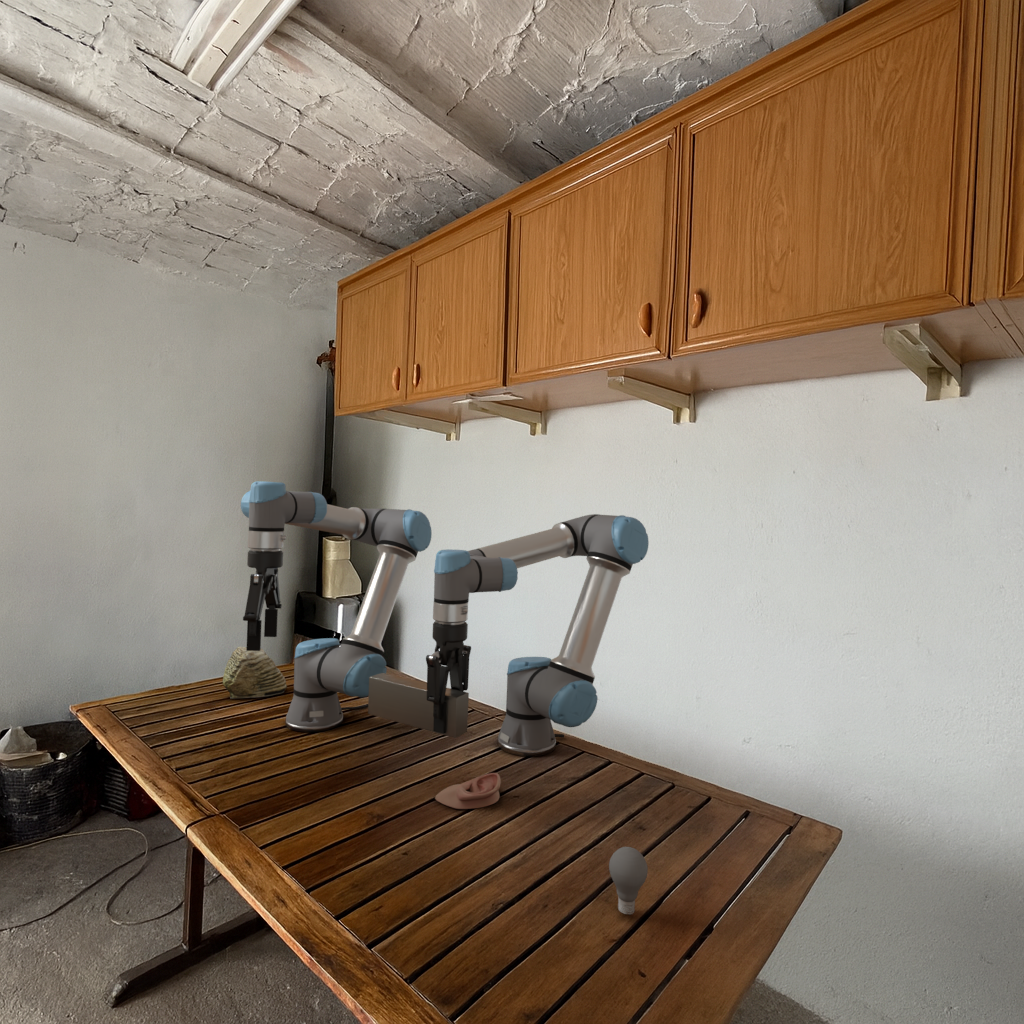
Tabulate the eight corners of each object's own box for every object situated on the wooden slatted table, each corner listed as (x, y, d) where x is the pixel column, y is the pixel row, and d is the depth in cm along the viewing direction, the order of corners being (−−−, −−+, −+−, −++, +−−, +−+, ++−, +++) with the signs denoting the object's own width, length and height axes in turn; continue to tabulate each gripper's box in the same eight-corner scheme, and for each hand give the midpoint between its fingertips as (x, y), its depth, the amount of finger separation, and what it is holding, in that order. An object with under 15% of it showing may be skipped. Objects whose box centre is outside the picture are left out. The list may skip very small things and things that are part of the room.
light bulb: (603, 900, 103) (606, 839, 103) (639, 899, 103) (642, 839, 103) (612, 924, 97) (615, 860, 97) (650, 924, 97) (653, 860, 97)
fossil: (218, 695, 195) (220, 647, 195) (278, 685, 208) (279, 640, 207) (228, 703, 189) (230, 653, 188) (289, 692, 201) (290, 645, 201)
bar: (367, 713, 146) (369, 676, 146) (381, 708, 150) (382, 672, 150) (455, 738, 133) (456, 697, 133) (467, 732, 137) (468, 692, 137)
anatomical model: (430, 786, 132) (447, 764, 143) (430, 805, 132) (446, 781, 143) (492, 795, 129) (504, 771, 140) (492, 814, 129) (504, 789, 140)
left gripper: (267, 555, 131) (264, 657, 132) (295, 546, 156) (292, 631, 156) (230, 554, 130) (226, 656, 131) (264, 545, 155) (260, 631, 155)
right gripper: (439, 630, 127) (435, 745, 128) (487, 617, 142) (483, 720, 143) (410, 625, 131) (406, 736, 132) (459, 613, 146) (456, 713, 147)
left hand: (262, 643), depth 143 cm, fingers open, 13 cm apart
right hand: (446, 728), depth 137 cm, fingers closed on bar, 4 cm apart
